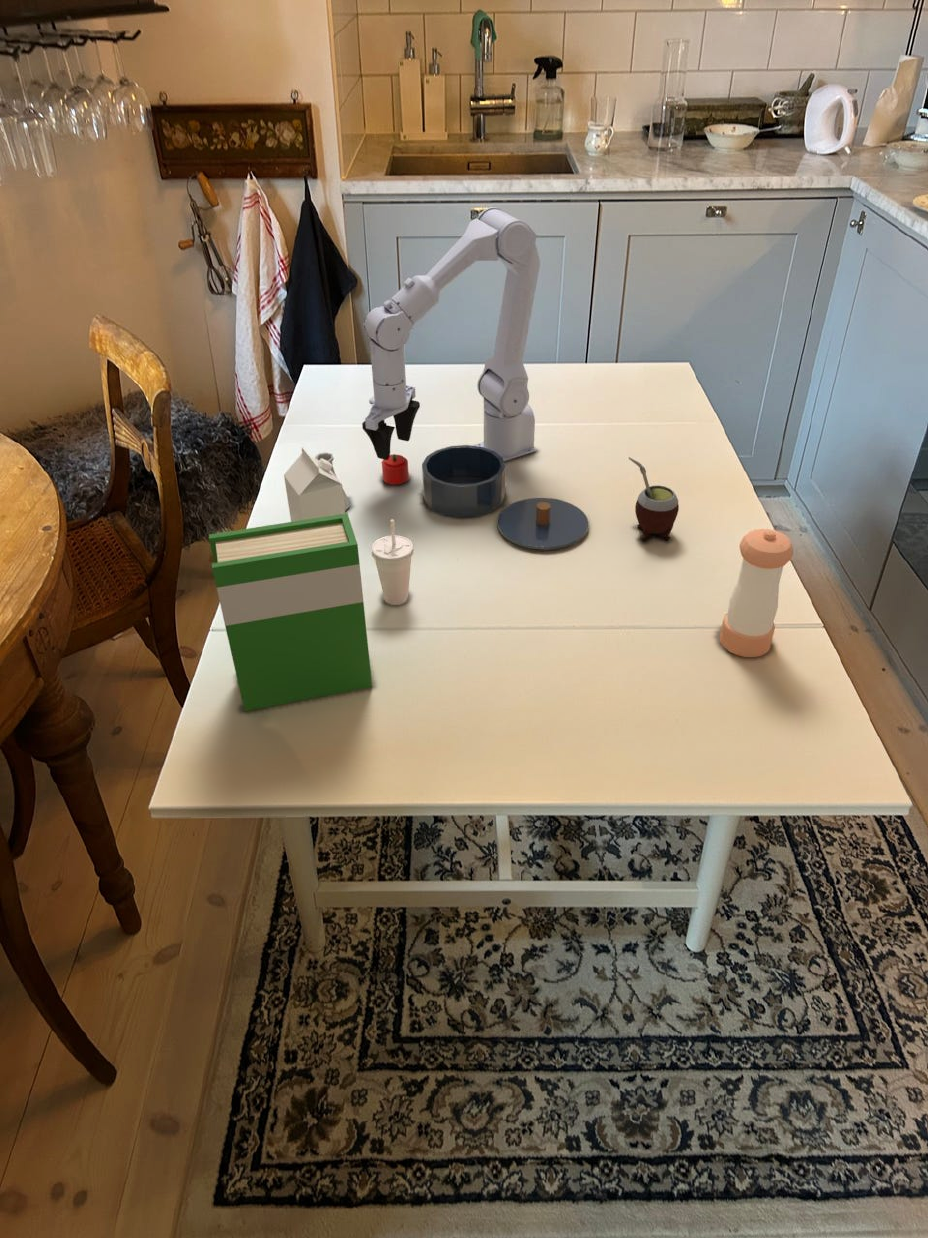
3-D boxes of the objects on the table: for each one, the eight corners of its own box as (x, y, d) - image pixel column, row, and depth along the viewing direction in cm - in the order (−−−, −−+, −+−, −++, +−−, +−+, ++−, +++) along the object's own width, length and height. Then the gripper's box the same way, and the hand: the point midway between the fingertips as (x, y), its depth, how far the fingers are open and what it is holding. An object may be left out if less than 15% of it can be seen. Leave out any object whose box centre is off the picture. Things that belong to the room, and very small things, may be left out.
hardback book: (244, 711, 127) (212, 567, 112) (239, 675, 133) (208, 534, 118) (372, 686, 131) (357, 544, 116) (362, 653, 136) (347, 513, 121)
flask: (353, 496, 170) (349, 447, 164) (346, 518, 165) (340, 468, 158) (314, 494, 171) (308, 445, 165) (305, 516, 165) (298, 466, 159)
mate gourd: (682, 532, 160) (694, 454, 150) (656, 552, 155) (667, 473, 146) (645, 516, 164) (655, 439, 154) (619, 535, 159) (627, 457, 150)
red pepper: (400, 469, 178) (399, 445, 174) (413, 480, 174) (412, 456, 171) (378, 476, 176) (376, 452, 172) (390, 488, 172) (388, 463, 169)
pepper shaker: (761, 663, 134) (789, 553, 122) (712, 646, 137) (734, 536, 125) (777, 635, 138) (805, 526, 126) (729, 619, 141) (752, 511, 129)
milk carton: (310, 575, 152) (295, 472, 140) (295, 553, 156) (280, 451, 145) (351, 563, 154) (340, 460, 142) (335, 541, 159) (323, 441, 147)
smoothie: (423, 591, 148) (419, 516, 139) (404, 614, 143) (399, 538, 135) (387, 581, 150) (381, 506, 141) (368, 604, 145) (360, 528, 137)
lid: (531, 493, 170) (532, 472, 168) (605, 521, 163) (607, 500, 160) (479, 531, 161) (479, 510, 158) (555, 563, 153) (556, 541, 151)
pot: (457, 467, 178) (456, 437, 174) (520, 491, 171) (521, 460, 167) (407, 499, 169) (405, 469, 165) (471, 526, 162) (470, 495, 158)
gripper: (389, 359, 169) (394, 427, 177) (347, 391, 159) (354, 461, 167) (424, 365, 167) (427, 434, 175) (383, 398, 156) (388, 470, 165)
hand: (393, 448), depth 171 cm, fingers open, 7 cm apart
